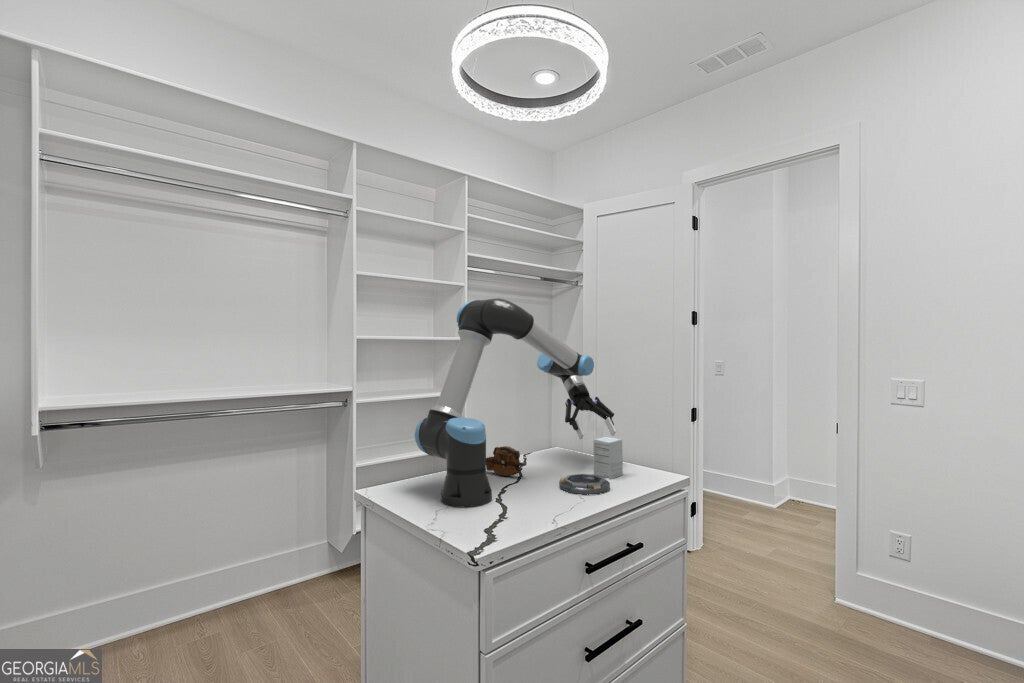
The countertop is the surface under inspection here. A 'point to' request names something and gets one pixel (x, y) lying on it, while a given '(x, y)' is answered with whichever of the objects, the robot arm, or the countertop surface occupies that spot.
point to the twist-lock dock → (584, 484)
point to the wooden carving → (504, 461)
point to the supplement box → (608, 457)
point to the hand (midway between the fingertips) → (598, 435)
